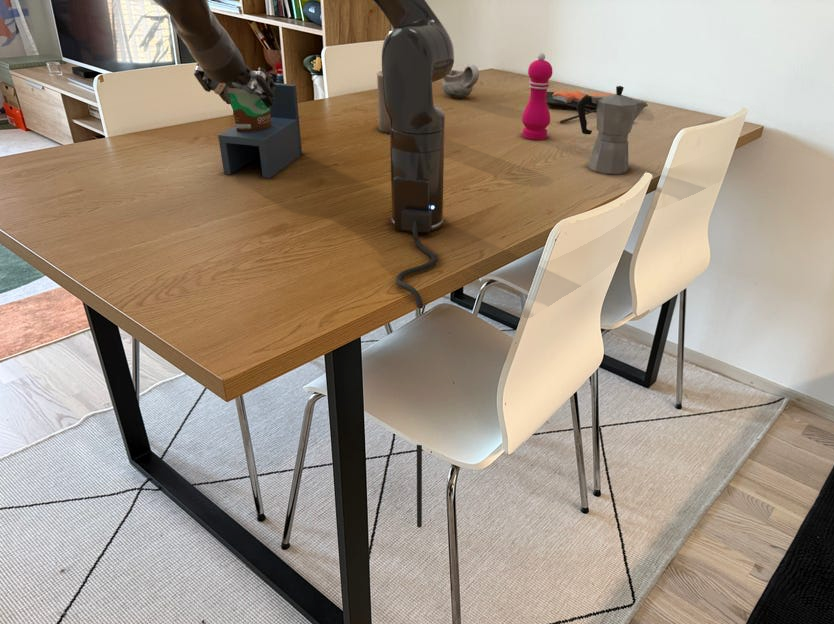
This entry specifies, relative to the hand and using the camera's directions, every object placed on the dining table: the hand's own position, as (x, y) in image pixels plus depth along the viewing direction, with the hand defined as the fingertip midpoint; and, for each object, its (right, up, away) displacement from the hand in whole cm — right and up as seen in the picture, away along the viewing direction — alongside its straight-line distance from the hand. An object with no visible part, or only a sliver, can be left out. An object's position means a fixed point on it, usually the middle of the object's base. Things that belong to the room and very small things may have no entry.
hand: (250, 102), depth 143 cm
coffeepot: (+75, -9, +18) cm, 78 cm away
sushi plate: (+78, +20, +62) cm, 102 cm away
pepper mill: (+61, +5, +38) cm, 72 cm away
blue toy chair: (0, -10, +10) cm, 14 cm away
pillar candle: (+26, +7, +38) cm, 46 cm away
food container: (+1, -4, +5) cm, 6 cm away
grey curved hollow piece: (+41, +27, +71) cm, 86 cm away
